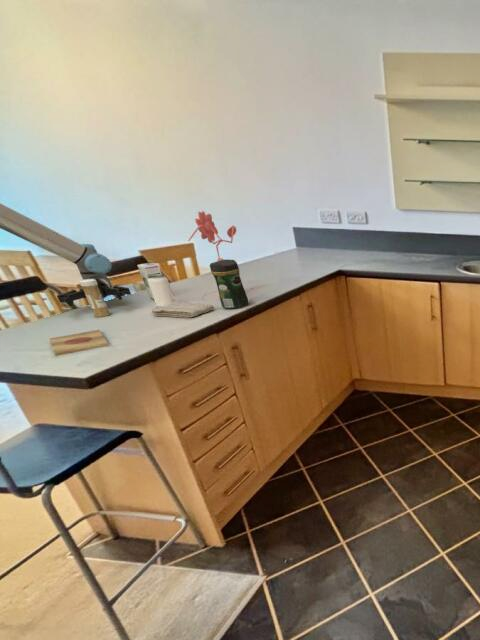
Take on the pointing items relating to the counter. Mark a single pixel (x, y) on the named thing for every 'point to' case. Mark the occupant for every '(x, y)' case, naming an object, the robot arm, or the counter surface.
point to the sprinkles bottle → (94, 297)
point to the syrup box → (149, 274)
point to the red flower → (211, 231)
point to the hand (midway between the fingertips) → (94, 299)
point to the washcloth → (182, 309)
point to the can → (161, 290)
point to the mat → (77, 342)
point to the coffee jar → (229, 284)
